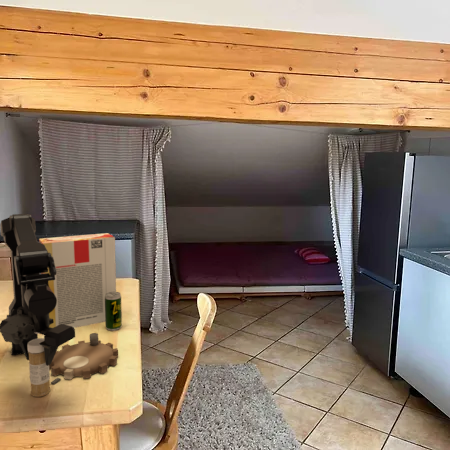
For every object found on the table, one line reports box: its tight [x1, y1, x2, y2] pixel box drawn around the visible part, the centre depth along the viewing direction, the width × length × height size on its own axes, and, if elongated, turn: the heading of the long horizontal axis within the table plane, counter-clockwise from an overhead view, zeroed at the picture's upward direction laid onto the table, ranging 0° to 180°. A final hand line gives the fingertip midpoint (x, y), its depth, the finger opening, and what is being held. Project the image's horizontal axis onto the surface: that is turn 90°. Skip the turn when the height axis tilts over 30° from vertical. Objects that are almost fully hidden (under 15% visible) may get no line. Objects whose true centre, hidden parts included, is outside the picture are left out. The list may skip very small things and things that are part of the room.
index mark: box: [50, 377, 62, 386], centre depth 107 cm, size 2×1×1 cm, turn 161°
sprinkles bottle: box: [27, 337, 51, 398], centre depth 101 cm, size 5×5×14 cm
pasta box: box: [38, 232, 117, 329], centre depth 142 cm, size 23×8×30 cm, turn 122°
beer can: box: [104, 291, 123, 332], centre depth 140 cm, size 5×5×12 cm
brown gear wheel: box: [49, 332, 119, 380], centre depth 117 cm, size 19×19×5 cm
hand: (38, 362), depth 101 cm, fingers open, 6 cm apart
